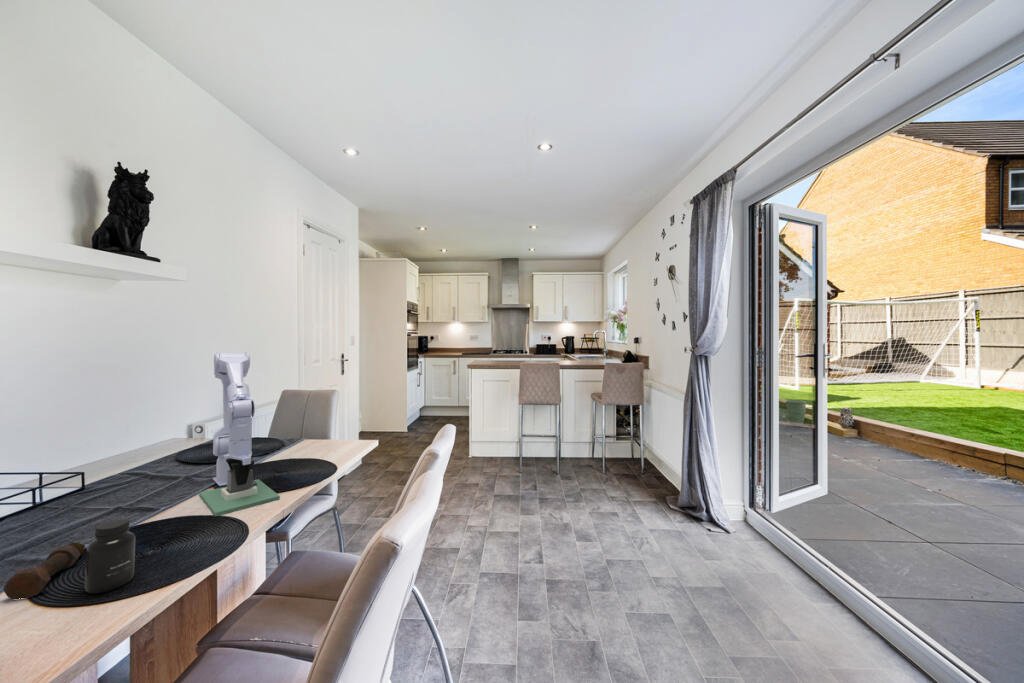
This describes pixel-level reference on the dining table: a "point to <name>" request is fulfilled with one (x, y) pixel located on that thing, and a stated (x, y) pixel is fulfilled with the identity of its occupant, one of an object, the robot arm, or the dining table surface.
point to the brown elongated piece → (42, 572)
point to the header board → (237, 498)
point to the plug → (232, 483)
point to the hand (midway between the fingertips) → (239, 482)
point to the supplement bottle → (110, 557)
